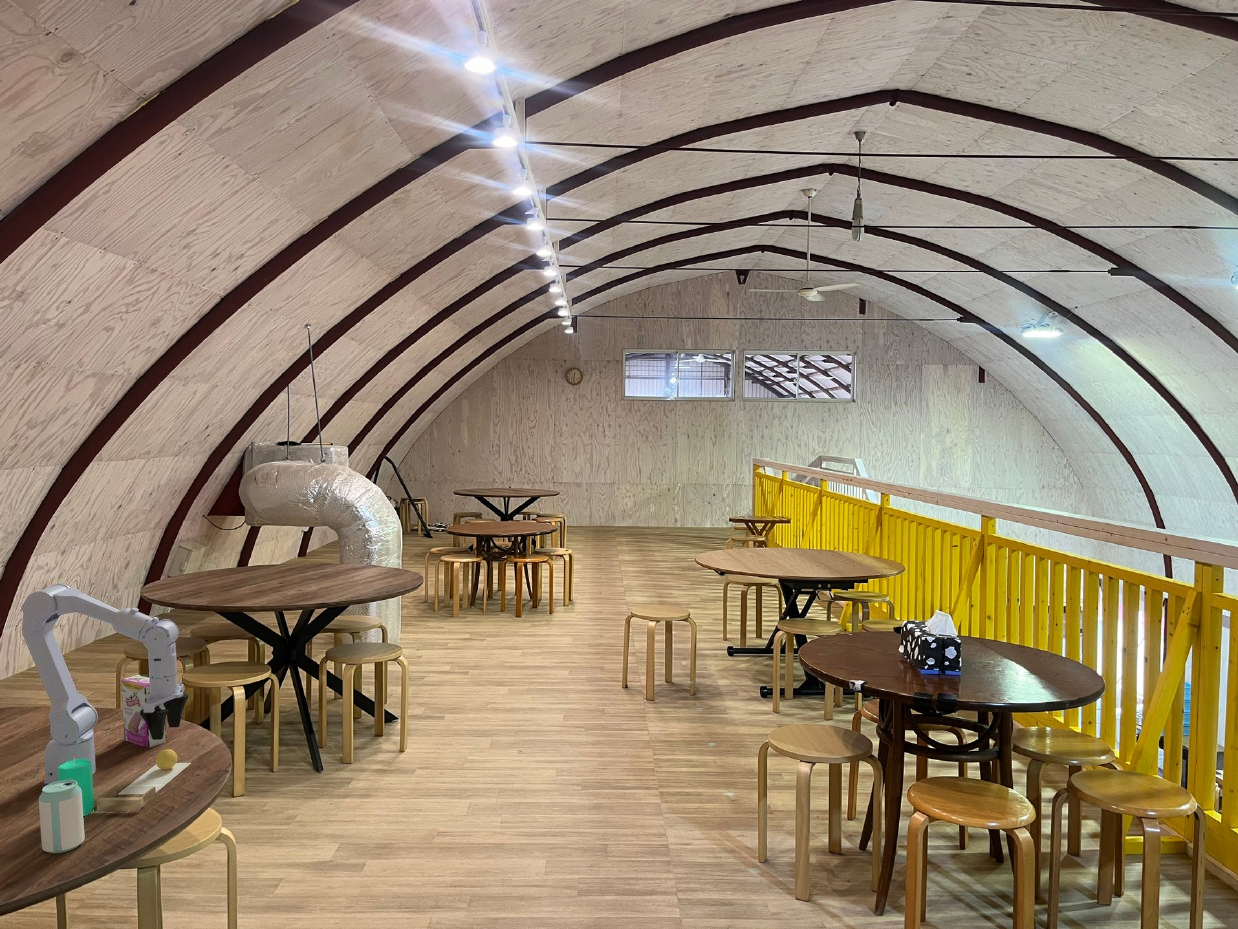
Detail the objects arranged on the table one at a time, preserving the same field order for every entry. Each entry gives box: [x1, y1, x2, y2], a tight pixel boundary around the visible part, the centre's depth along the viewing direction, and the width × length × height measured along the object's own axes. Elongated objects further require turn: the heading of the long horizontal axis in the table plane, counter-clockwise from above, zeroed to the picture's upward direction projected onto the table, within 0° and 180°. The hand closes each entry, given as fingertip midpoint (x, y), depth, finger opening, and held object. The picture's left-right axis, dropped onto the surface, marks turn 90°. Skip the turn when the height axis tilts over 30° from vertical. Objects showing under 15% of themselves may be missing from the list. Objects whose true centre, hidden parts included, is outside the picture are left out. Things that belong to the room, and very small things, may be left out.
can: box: [38, 780, 86, 854], centre depth 178 cm, size 7×7×12 cm
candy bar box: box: [119, 674, 167, 749], centre depth 231 cm, size 11×5×16 cm, turn 58°
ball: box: [155, 748, 178, 770], centre depth 213 cm, size 4×4×4 cm
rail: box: [95, 787, 157, 812], centre depth 196 cm, size 9×6×2 cm
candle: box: [58, 757, 95, 817], centre depth 192 cm, size 6×6×12 cm
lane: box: [116, 762, 192, 796], centre depth 205 cm, size 8×22×1 cm, turn 179°
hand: (166, 733), depth 212 cm, fingers open, 7 cm apart
